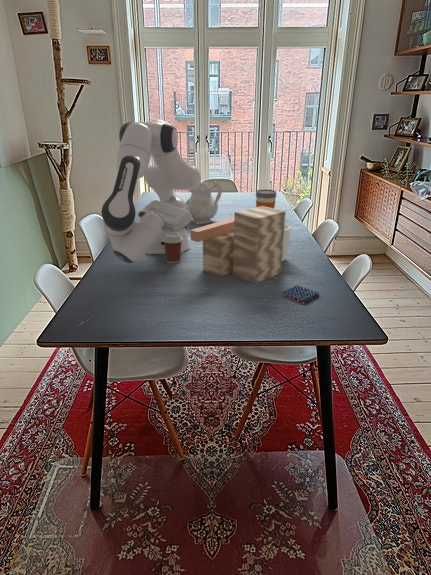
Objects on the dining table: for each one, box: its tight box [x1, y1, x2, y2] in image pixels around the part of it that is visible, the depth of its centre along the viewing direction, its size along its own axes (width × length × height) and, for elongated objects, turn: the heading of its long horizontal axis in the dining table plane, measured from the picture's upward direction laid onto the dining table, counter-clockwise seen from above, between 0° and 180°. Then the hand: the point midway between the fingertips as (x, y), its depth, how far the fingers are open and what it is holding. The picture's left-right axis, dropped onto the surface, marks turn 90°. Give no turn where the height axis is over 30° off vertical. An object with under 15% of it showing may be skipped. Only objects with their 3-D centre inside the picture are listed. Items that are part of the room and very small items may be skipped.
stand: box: [232, 206, 287, 284], centre depth 161 cm, size 16×12×26 cm
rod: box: [189, 217, 234, 243], centre depth 163 cm, size 28×4×4 cm, turn 136°
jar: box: [282, 224, 292, 262], centre depth 179 cm, size 11×10×15 cm
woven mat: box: [281, 284, 320, 305], centre depth 148 cm, size 10×11×2 cm
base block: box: [202, 231, 234, 277], centre depth 167 cm, size 12×10×16 cm
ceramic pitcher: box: [185, 179, 223, 225], centre depth 233 cm, size 22×20×25 cm
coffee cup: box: [162, 233, 183, 264], centre depth 177 cm, size 9×9×12 cm
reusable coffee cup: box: [255, 189, 277, 209], centre depth 248 cm, size 13×13×15 cm
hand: (182, 199), depth 140 cm, fingers open, 8 cm apart
